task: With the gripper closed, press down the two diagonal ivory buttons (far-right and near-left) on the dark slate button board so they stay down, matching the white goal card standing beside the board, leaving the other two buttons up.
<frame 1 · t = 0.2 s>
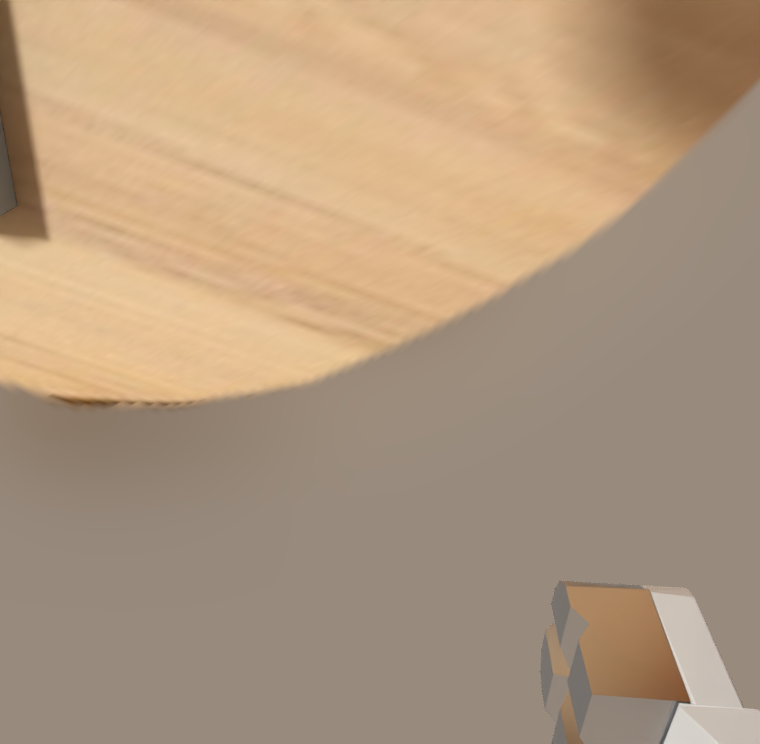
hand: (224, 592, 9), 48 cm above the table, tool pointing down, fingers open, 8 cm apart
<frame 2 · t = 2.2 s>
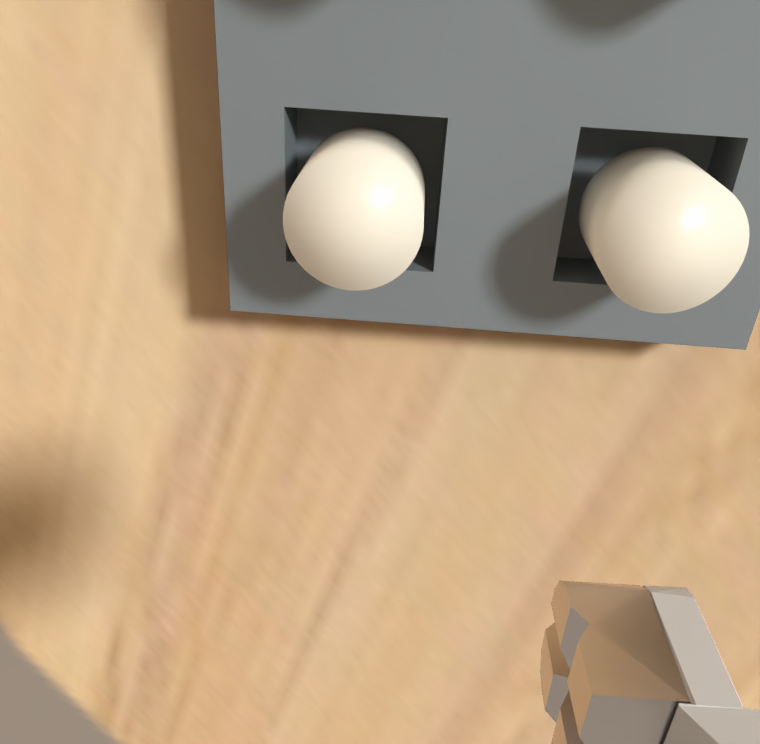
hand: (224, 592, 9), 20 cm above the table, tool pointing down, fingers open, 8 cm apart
button A: (358, 206, 22), point 4 cm above the table, slide at 0.0 cm
button C: (656, 227, 22), point 4 cm above the table, slide at 0.0 cm
button board: (514, 40, 24), on the table
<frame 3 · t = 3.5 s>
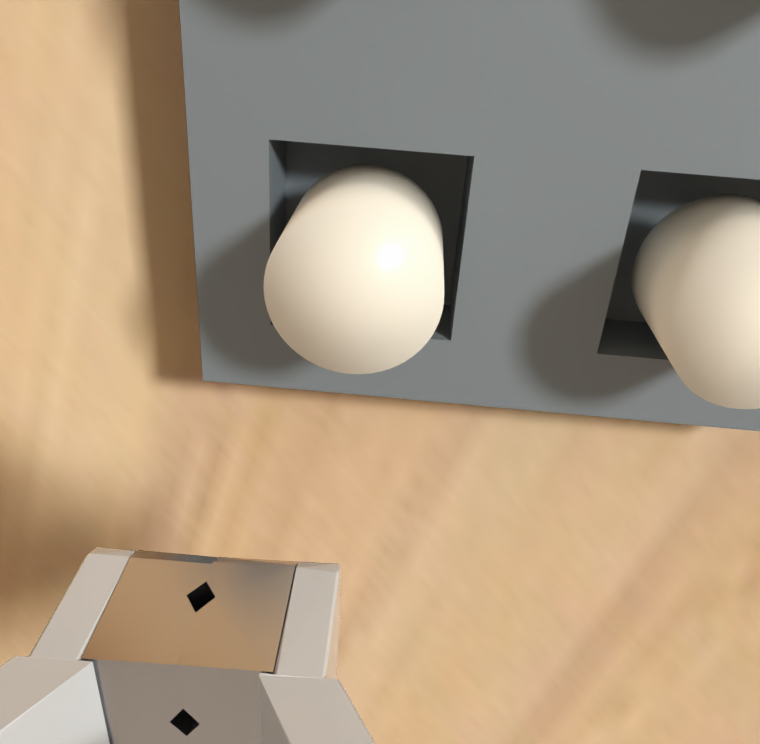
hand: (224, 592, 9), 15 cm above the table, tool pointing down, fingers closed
button A: (360, 265, 18), point 4 cm above the table, slide at 0.0 cm
button C: (735, 298, 17), point 4 cm above the table, slide at 0.0 cm
button board: (555, 59, 19), on the table
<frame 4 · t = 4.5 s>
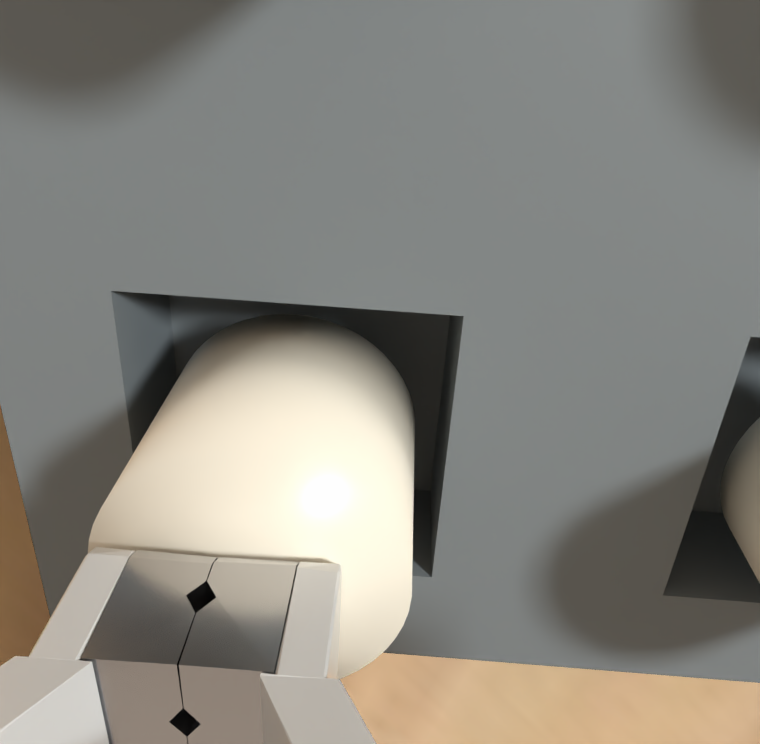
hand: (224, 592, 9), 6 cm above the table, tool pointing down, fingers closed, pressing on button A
button A: (275, 491, 11), point 4 cm above the table, slide at 0.3 cm, touching gripper
button board: (591, 135, 12), on the table
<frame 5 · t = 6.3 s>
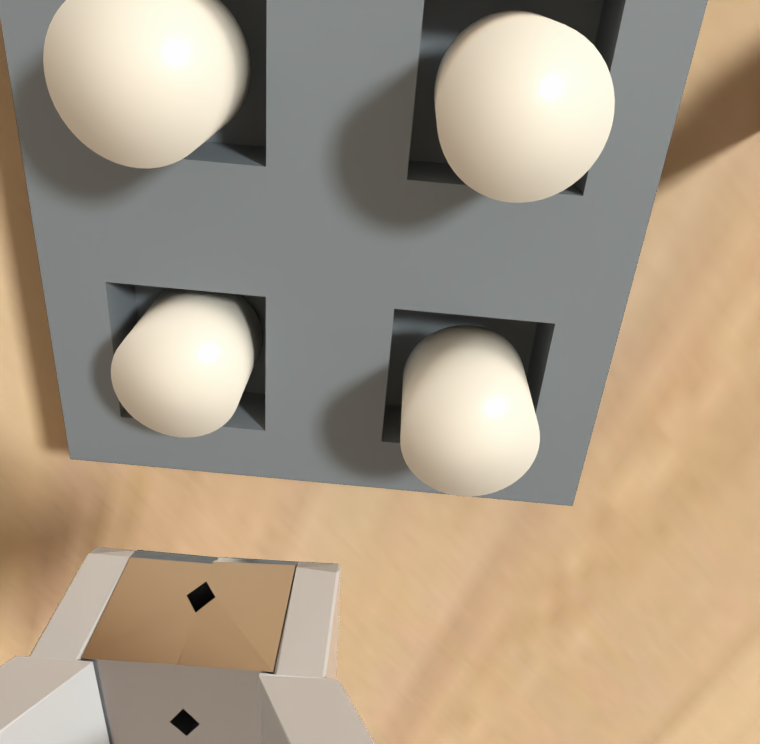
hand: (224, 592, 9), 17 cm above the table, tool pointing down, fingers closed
button A: (191, 356, 24), point 3 cm above the table, slide at 1.7 cm
button B: (156, 70, 18), point 4 cm above the table, slide at 0.0 cm
button D: (515, 103, 18), point 4 cm above the table, slide at 0.0 cm
button C: (466, 408, 23), point 4 cm above the table, slide at 0.0 cm
button board: (342, 211, 24), on the table
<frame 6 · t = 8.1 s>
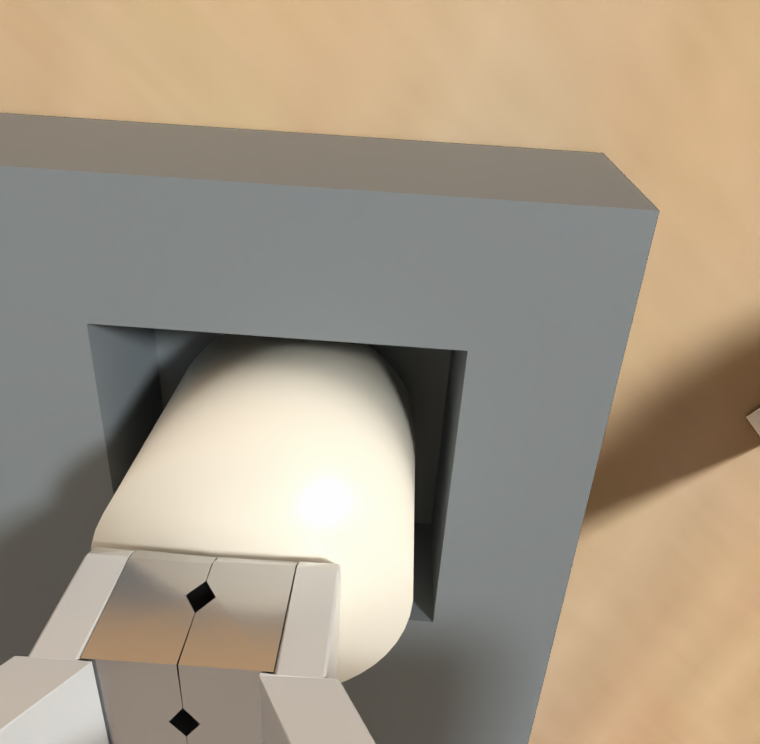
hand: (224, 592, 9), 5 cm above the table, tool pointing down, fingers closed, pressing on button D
button D: (277, 495, 11), point 3 cm above the table, slide at 1.3 cm, touching gripper
button board: (96, 552, 16), on the table
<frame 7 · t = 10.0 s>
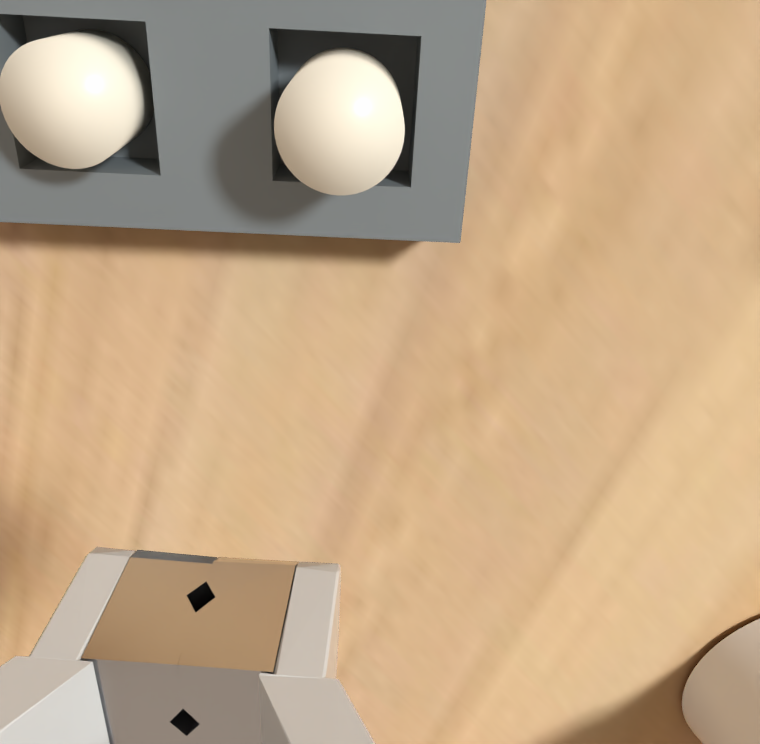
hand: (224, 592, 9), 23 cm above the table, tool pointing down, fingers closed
button A: (82, 97, 25), point 3 cm above the table, slide at 1.7 cm
button C: (341, 119, 24), point 4 cm above the table, slide at 0.0 cm
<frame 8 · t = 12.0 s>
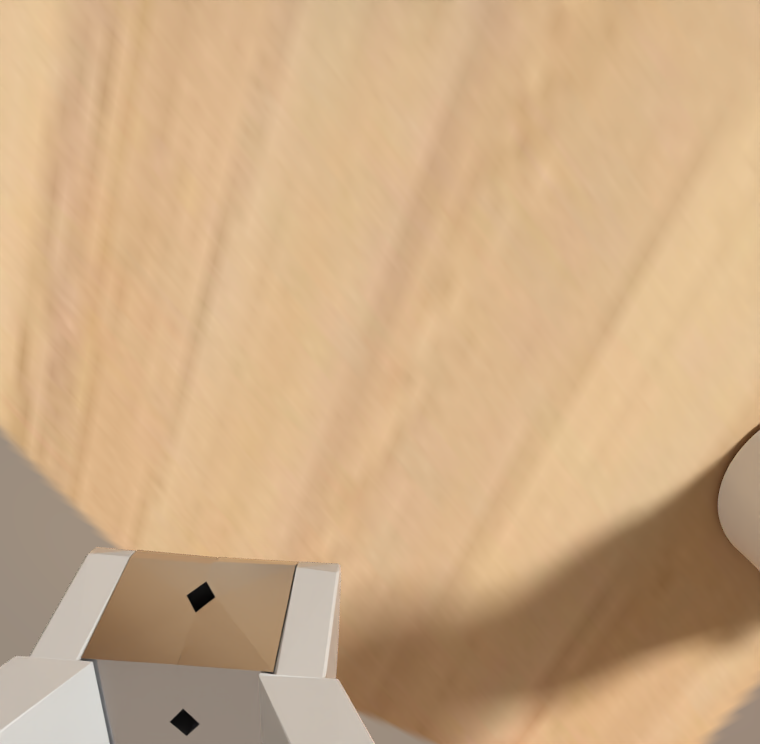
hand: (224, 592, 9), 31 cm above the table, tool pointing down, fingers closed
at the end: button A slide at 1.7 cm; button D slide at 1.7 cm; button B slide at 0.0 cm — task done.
